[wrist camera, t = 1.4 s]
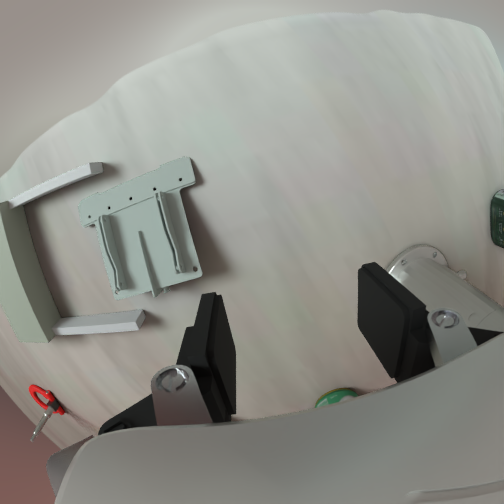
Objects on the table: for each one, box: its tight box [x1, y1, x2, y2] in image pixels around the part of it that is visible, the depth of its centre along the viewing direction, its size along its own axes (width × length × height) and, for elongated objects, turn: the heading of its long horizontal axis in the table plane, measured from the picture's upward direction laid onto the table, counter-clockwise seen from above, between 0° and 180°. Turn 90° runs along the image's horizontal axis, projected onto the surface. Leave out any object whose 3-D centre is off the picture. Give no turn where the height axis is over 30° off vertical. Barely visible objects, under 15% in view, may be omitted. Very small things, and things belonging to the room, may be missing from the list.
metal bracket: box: [78, 157, 202, 300], centre depth 28 cm, size 14×6×15 cm
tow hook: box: [29, 385, 65, 442], centre depth 33 cm, size 8×13×9 cm
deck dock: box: [0, 162, 146, 343], centre depth 27 cm, size 23×20×5 cm
